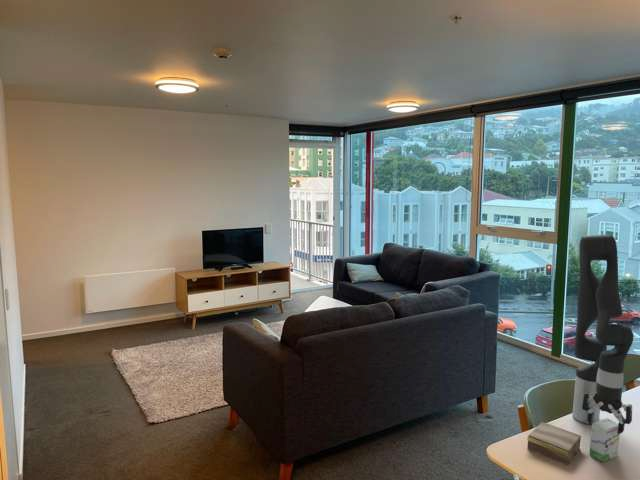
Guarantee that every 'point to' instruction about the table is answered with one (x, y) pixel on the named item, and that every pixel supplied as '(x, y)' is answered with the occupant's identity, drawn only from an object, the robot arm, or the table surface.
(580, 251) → the robot arm
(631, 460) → the table surface
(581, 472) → the table surface
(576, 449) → the walnut dock
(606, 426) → the ink box
